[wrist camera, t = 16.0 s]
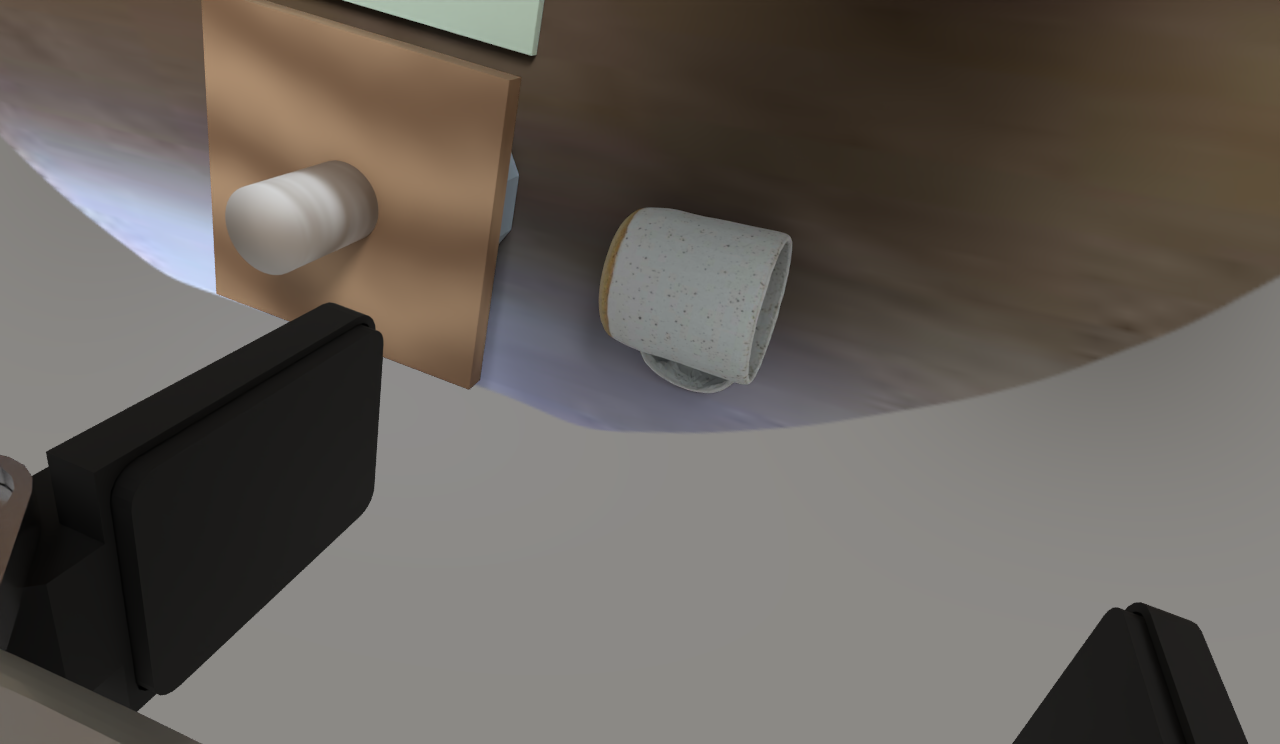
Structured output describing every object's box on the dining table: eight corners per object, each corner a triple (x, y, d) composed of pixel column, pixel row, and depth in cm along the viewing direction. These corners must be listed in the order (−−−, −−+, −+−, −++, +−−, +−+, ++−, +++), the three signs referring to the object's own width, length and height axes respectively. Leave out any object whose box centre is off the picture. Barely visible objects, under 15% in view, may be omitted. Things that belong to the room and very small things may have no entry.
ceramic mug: (647, 185, 42) (594, 225, 36) (801, 215, 40) (775, 264, 34) (628, 361, 47) (579, 425, 41) (764, 395, 45) (735, 467, 39)
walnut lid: (220, -14, 38) (93, -12, 33) (521, 77, 36) (441, 96, 30) (232, 286, 46) (131, 330, 40) (480, 380, 43) (410, 441, 38)
